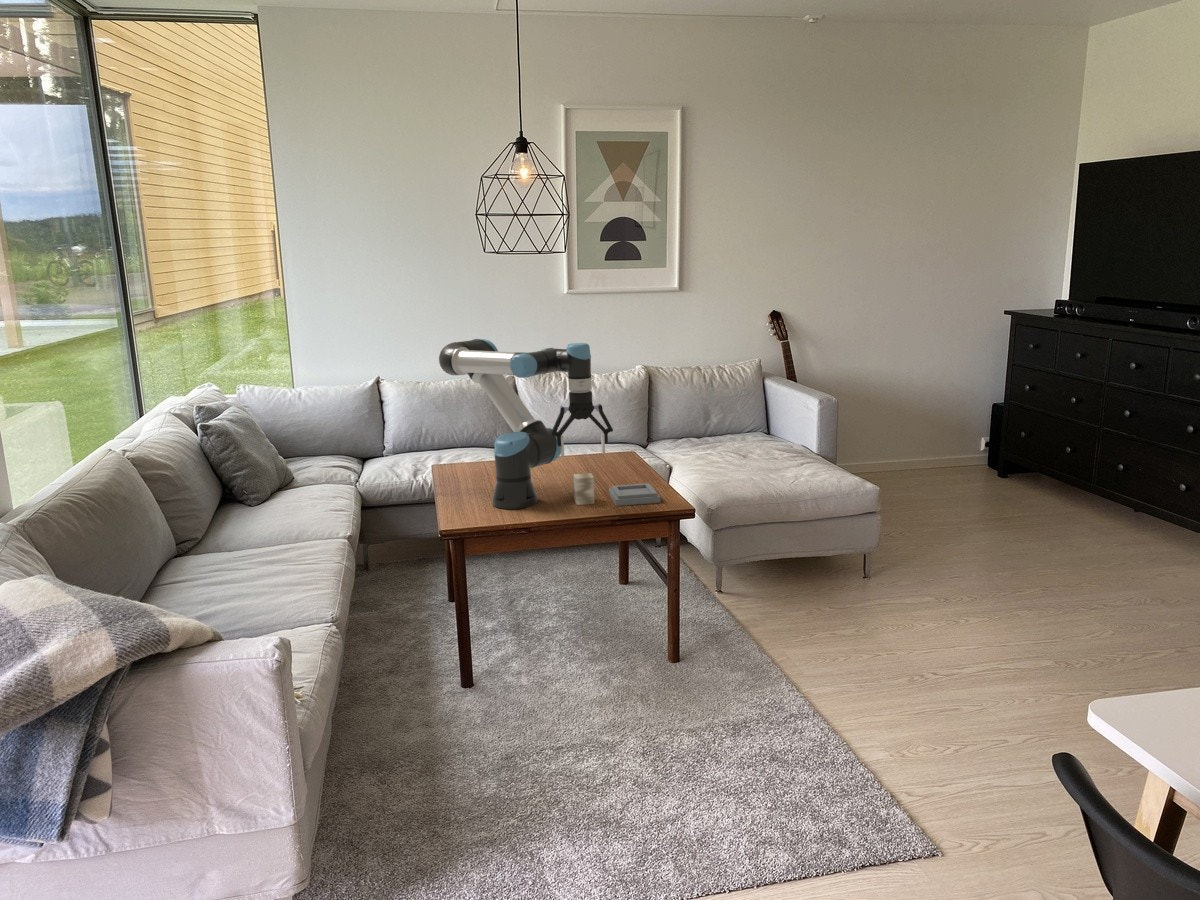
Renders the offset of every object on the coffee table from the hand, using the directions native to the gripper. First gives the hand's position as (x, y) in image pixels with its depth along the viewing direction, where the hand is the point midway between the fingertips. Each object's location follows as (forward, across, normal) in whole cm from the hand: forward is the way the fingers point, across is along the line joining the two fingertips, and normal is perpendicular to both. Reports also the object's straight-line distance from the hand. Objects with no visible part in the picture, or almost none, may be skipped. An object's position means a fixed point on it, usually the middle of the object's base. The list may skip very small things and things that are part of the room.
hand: (583, 454), depth 290 cm
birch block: (+16, 0, 0) cm, 16 cm away
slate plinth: (+16, +17, 0) cm, 23 cm away
